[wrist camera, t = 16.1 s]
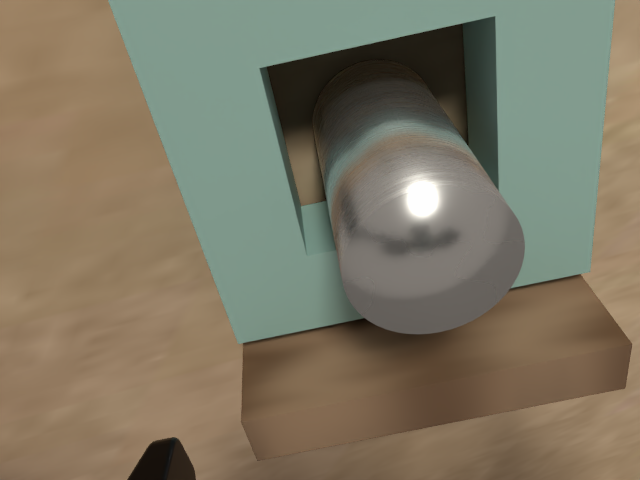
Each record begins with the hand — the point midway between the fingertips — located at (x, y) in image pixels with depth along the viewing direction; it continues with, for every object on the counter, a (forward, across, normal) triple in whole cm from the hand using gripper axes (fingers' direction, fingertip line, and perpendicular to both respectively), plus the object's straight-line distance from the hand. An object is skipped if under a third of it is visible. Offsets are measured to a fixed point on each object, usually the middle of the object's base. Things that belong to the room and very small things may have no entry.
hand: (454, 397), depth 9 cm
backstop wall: (+12, -1, +8) cm, 14 cm away
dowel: (+12, -1, 0) cm, 12 cm away
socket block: (+12, -1, 0) cm, 12 cm away
